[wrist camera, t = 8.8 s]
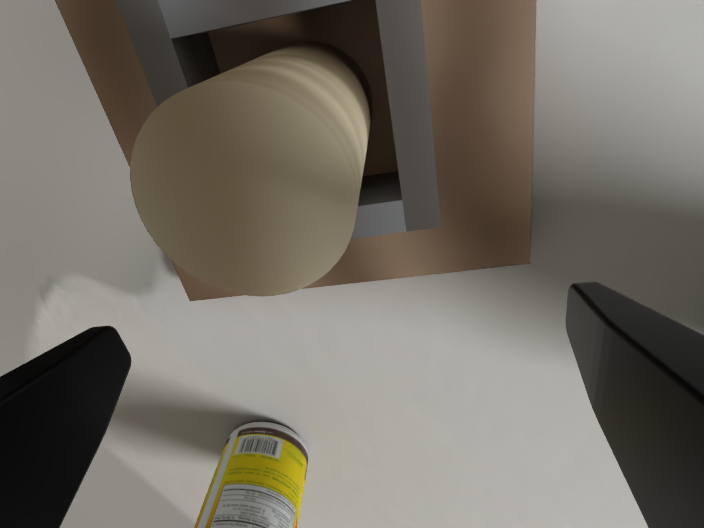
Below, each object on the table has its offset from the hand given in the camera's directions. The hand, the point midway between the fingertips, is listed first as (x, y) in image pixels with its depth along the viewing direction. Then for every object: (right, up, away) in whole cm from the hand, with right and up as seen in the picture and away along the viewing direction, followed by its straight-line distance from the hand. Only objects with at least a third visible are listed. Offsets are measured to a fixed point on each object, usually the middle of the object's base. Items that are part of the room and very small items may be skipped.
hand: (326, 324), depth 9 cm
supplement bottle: (-5, -11, +21) cm, 24 cm away
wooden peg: (-1, +7, +8) cm, 11 cm away
